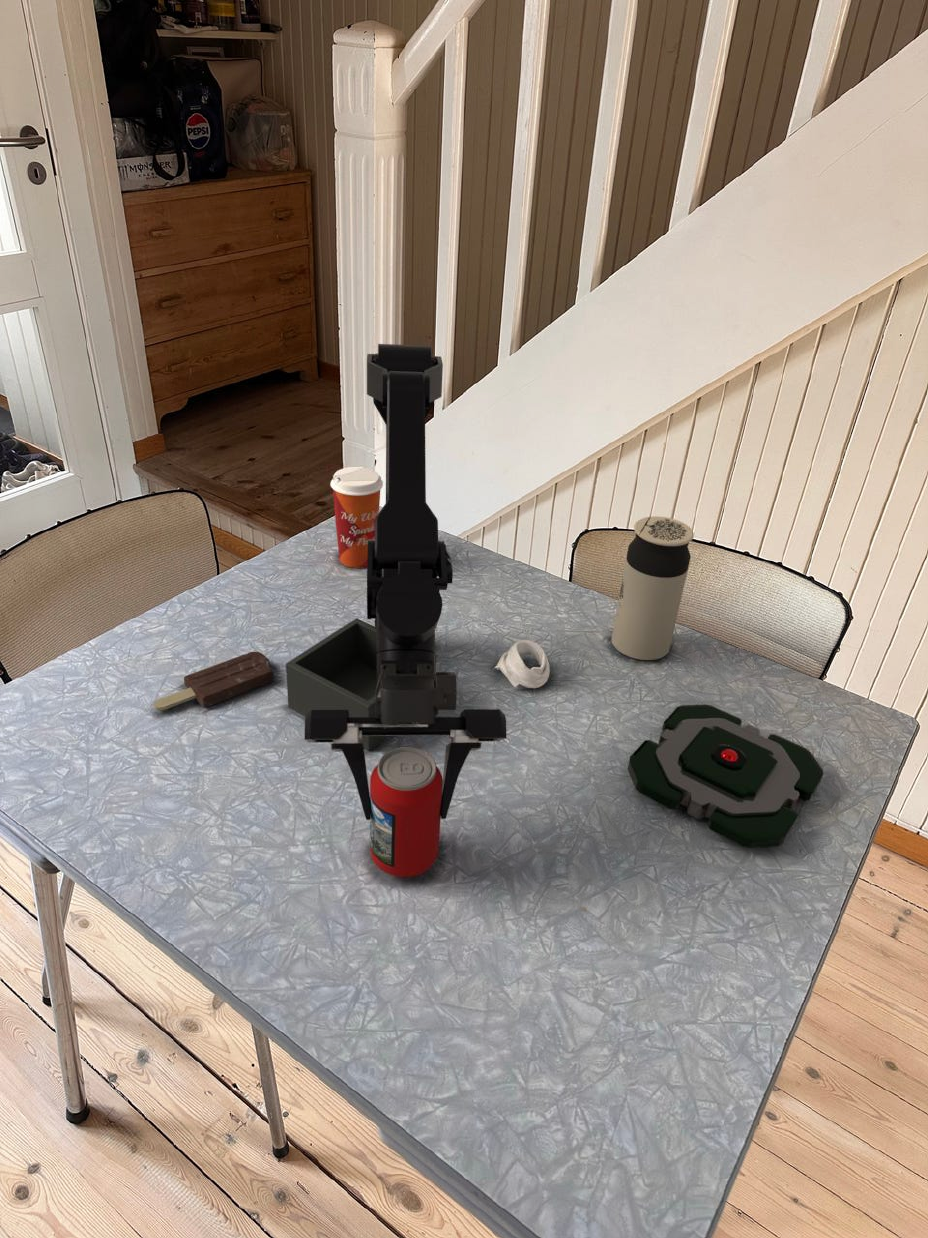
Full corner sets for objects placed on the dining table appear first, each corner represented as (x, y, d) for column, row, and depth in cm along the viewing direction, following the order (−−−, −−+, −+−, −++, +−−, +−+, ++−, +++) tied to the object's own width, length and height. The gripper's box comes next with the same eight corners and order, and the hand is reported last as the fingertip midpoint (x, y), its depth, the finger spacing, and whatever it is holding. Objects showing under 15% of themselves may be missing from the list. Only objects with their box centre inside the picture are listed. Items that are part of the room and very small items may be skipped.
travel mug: (677, 642, 121) (704, 526, 111) (656, 669, 115) (682, 550, 105) (625, 622, 124) (646, 509, 114) (601, 648, 118) (622, 531, 109)
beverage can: (370, 830, 88) (370, 742, 82) (436, 829, 89) (441, 741, 82) (369, 884, 83) (369, 794, 76) (440, 882, 84) (446, 792, 77)
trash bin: (357, 659, 113) (356, 617, 109) (434, 697, 107) (436, 654, 104) (288, 707, 104) (285, 663, 101) (368, 751, 98) (368, 706, 95)
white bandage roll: (522, 657, 117) (524, 625, 115) (563, 674, 113) (566, 642, 111) (484, 679, 112) (486, 645, 109) (526, 698, 108) (529, 664, 106)
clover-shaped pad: (613, 788, 96) (619, 757, 93) (683, 709, 108) (690, 680, 106) (769, 871, 87) (781, 839, 85) (825, 776, 100) (837, 746, 97)
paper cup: (343, 575, 131) (341, 490, 123) (325, 552, 136) (322, 469, 128) (390, 565, 134) (392, 482, 126) (371, 543, 139) (371, 462, 132)
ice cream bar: (164, 724, 100) (280, 679, 109) (162, 713, 99) (279, 668, 108) (146, 701, 103) (259, 658, 112) (144, 690, 103) (258, 648, 111)
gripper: (301, 640, 75) (296, 824, 72) (513, 641, 77) (517, 821, 74) (311, 659, 86) (307, 819, 83) (496, 659, 88) (499, 816, 85)
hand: (405, 819), depth 81 cm, fingers closed on beverage can, 7 cm apart
